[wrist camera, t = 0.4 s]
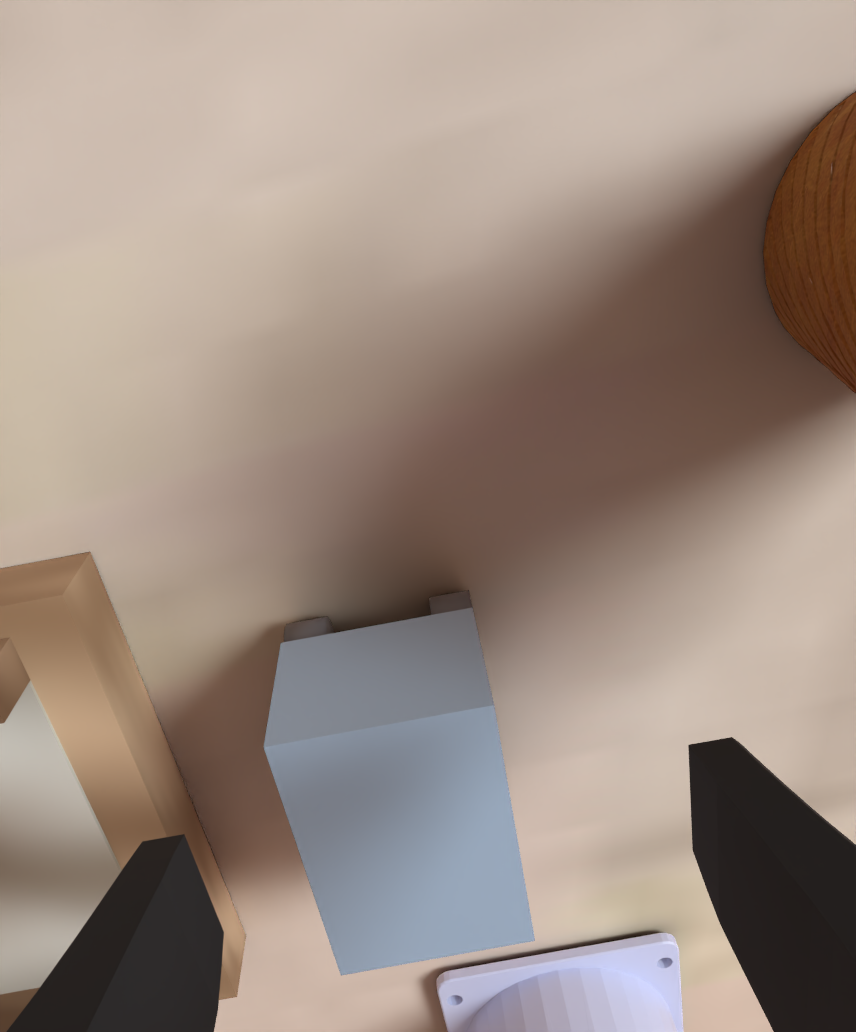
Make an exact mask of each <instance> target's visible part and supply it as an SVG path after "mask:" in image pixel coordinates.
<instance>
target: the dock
mask: <svg viewBox="0 0 856 1032" xmlns="http://www.w3.org/2000/svg"><path fill="white" fill-rule="evenodd" d="M182 834H185V837H186V839H187V842H188V844H189V847H190V849H191V852H192V854H193V857H194V859H195V862H196V864H197V867H198V869H199V872H200V874H201V876H202V879H203V881H204V884H205V886H206V889H207V891H208V894H209V896H210V899H211V901H212V904H213V906H214V909H215V911H216V914H217V916H218V918H219V921H220V923H221V926H222V928H223V931H224V940H223V954H222V968H221V980H220V991H219V1000H222V999H227V998H233V997H237V993H238V986H239V979H240V972H241V966H242V959H243V952H244V946H245V939H246V935H245V932H244V930H243V927H242V925H241V923H240V920H239V918H238V915H237V913H236V910H235V908H234V905H233V903H232V900H231V898H230V895H229V893H228V890H227V888H226V886H225V883H224V881H223V878H222V876H221V873H220V871H219V868H218V866H217V863H216V861H215V858H214V856H213V853H212V851H211V849H210V846H209V844H208V841H207V839H206V836H205V834H204V831H203V829H202V826H201V824H200V821H199V819H198V816H197V814H196V812H195V809H194V807H193V804H192V802H191V799H190V797H189V794H188V792H187V789H186V787H185V784H184V782H183V779H182V777H181V775H180V772H179V770H178V767H177V765H176V762H175V760H174V757H173V755H172V752H171V750H170V747H169V745H168V742H167V740H166V738H165V735H164V733H163V730H162V728H161V725H160V723H159V720H158V718H157V715H156V713H155V710H154V708H153V705H152V703H151V701H150V698H149V696H148V693H147V691H146V688H145V686H144V683H143V681H142V678H141V676H140V673H139V671H138V668H137V666H136V664H135V661H134V659H133V656H132V654H131V651H130V649H129V646H128V644H127V641H126V639H125V636H124V634H123V631H122V629H121V627H120V624H119V622H118V619H117V617H116V614H115V612H114V609H113V607H112V604H111V602H110V599H109V597H108V594H107V592H106V590H105V587H104V585H103V582H102V580H101V577H100V575H99V572H98V570H97V567H96V565H95V562H94V560H93V557H92V555H91V553H90V552H87V553H82V554H77V555H71V556H66V557H61V558H55V559H50V560H45V561H39V562H34V563H29V564H23V565H18V566H13V567H7V568H2V569H0V1032H6V1031H7V1030H8V1029H9V1027H10V1026H11V1025H12V1024H13V1022H14V1021H15V1020H16V1018H17V1017H18V1016H19V1014H20V1013H21V1012H22V1011H23V1009H24V1008H25V1007H26V1005H27V1004H28V1003H29V1001H30V1000H31V999H32V997H33V996H34V995H35V993H36V992H37V991H38V989H39V988H40V987H41V985H42V984H43V982H44V981H45V980H46V978H47V977H48V975H49V974H50V973H51V971H52V970H53V968H54V967H55V966H56V964H57V963H58V961H59V960H60V959H61V957H62V956H63V954H64V953H65V952H66V950H67V949H68V947H69V946H70V945H71V943H72V942H73V940H74V939H75V938H76V936H77V935H78V933H79V932H80V930H81V929H82V928H83V926H84V925H85V923H86V922H87V920H88V919H89V917H90V916H91V915H92V913H93V912H94V910H95V909H96V907H97V906H98V904H99V903H100V901H101V900H102V899H103V897H104V896H105V894H106V893H107V891H108V890H109V888H110V887H111V885H112V884H113V882H114V881H115V880H116V878H117V877H118V875H119V874H120V872H121V871H122V869H123V868H124V866H125V865H126V864H127V862H128V861H129V859H130V858H131V856H132V855H133V854H134V852H135V851H136V849H137V848H138V847H139V845H140V844H141V843H142V841H148V840H154V839H159V838H165V837H171V836H176V835H182Z"/></svg>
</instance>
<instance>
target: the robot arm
mask: <svg viewBox="0 0 856 1032" xmlns="http://www.w3.org/2000/svg"><path fill="white" fill-rule="evenodd" d="M689 767H690V792H691V818H692V843H693V852H694V855H695V858H696V860H697V863H698V866H699V869H700V871H701V874H702V877H703V880H704V882H705V885H706V888H707V891H708V893H709V896H710V898H711V901H712V904H713V906H714V909H715V912H716V914H717V917H718V919H719V922H720V924H721V926H722V928H723V930H724V932H725V934H726V937H727V939H728V941H729V943H730V945H731V947H732V949H733V951H734V953H735V955H736V957H737V959H738V961H739V963H740V965H741V967H742V969H743V971H744V973H745V975H746V977H747V979H748V981H749V983H750V985H751V987H752V989H753V991H754V993H755V995H756V997H757V999H758V1001H759V1003H760V1005H761V1007H762V1009H763V1011H764V1013H765V1015H766V1017H767V1019H768V1021H769V1023H770V1025H771V1027H772V1029H773V1031H774V1032H856V845H855V844H854V843H853V842H852V841H850V840H849V839H848V838H847V837H846V836H844V835H843V834H842V833H841V832H840V831H838V830H837V829H836V828H835V827H833V826H832V825H831V824H830V823H829V822H827V821H826V820H825V819H824V818H823V817H822V816H820V815H819V814H818V813H817V812H816V811H815V810H813V809H812V808H811V807H810V806H809V805H808V804H806V803H805V802H804V801H803V800H802V799H801V798H800V797H799V796H797V795H796V794H795V793H794V792H793V791H792V790H791V789H789V788H788V787H787V786H786V785H785V784H784V783H783V782H782V781H781V780H779V779H778V778H777V777H776V776H775V775H774V774H773V773H772V772H771V771H770V770H768V769H767V768H766V767H765V766H764V765H763V764H762V763H761V762H760V761H759V760H758V759H756V758H755V757H754V756H753V755H752V754H751V753H750V752H749V751H748V750H747V749H746V748H745V747H744V746H742V745H741V744H740V743H739V742H738V741H736V740H735V739H733V738H732V737H731V738H725V739H720V740H714V741H708V742H703V743H697V744H691V745H689ZM223 940H224V931H223V928H222V926H221V923H220V921H219V918H218V916H217V914H216V911H215V909H214V906H213V904H212V901H211V899H210V896H209V894H208V891H207V889H206V886H205V884H204V881H203V879H202V876H201V874H200V872H199V869H198V867H197V864H196V862H195V859H194V857H193V854H192V852H191V849H190V847H189V844H188V842H187V839H186V837H185V834H182V835H176V836H171V837H165V838H159V839H154V840H148V841H142V843H141V844H140V845H139V847H138V848H137V849H136V851H135V852H134V854H133V855H132V856H131V858H130V859H129V861H128V862H127V864H126V865H125V866H124V868H123V869H122V871H121V872H120V874H119V875H118V877H117V878H116V880H115V881H114V882H113V884H112V885H111V887H110V888H109V890H108V891H107V893H106V894H105V896H104V897H103V899H102V900H101V901H100V903H99V904H98V906H97V907H96V909H95V910H94V912H93V913H92V915H91V916H90V917H89V919H88V920H87V922H86V923H85V925H84V926H83V928H82V929H81V930H80V932H79V933H78V935H77V936H76V938H75V939H74V940H73V942H72V943H71V945H70V946H69V947H68V949H67V950H66V952H65V953H64V954H63V956H62V957H61V959H60V960H59V961H58V963H57V964H56V966H55V967H54V968H53V970H52V971H51V973H50V974H49V975H48V977H47V978H46V980H45V981H44V982H43V984H42V985H41V987H40V988H39V989H38V991H37V992H36V993H35V995H34V996H33V997H32V999H31V1000H30V1001H29V1003H28V1004H27V1005H26V1007H25V1008H24V1009H23V1011H22V1012H21V1013H20V1014H19V1016H18V1017H17V1018H16V1020H15V1021H14V1022H13V1024H12V1025H11V1026H10V1027H9V1029H8V1030H7V1031H6V1032H214V1027H215V1022H216V1016H217V1011H218V1002H219V991H220V980H221V968H222V954H223ZM436 984H437V993H438V997H439V1001H440V1005H441V1008H442V1012H443V1016H444V1020H445V1024H446V1027H447V1031H448V1032H683V1015H682V998H681V980H680V963H679V948H678V946H677V943H676V940H675V938H674V936H672V935H671V934H668V933H656V934H651V935H645V936H639V937H634V938H628V939H623V940H617V941H611V942H606V943H600V944H595V945H589V946H583V947H578V948H572V949H567V950H561V951H555V952H550V953H544V954H539V955H533V956H527V957H522V958H516V959H511V960H505V961H499V962H494V963H488V964H483V965H477V966H471V967H466V968H460V969H455V970H449V971H446V972H443V973H442V974H441V975H439V977H438V978H437V983H436Z"/></svg>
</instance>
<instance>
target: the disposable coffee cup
mask: <svg viewBox="0 0 856 1032" xmlns="http://www.w3.org/2000/svg"><path fill="white" fill-rule="evenodd" d="M763 255H764V266H765V276H766V286H767V289H768V292H769V295H770V298H771V301H772V304H773V307H774V310H775V312H776V314H777V316H778V318H779V320H780V321H781V323H782V325H783V327H784V328H785V329H786V330H787V331H788V332H789V333H790V335H791V336H792V337H793V338H794V339H795V340H796V341H797V342H798V344H799V345H801V346H802V347H803V348H805V349H806V350H807V351H808V352H810V353H811V354H812V355H813V356H814V357H815V358H816V359H817V360H819V361H820V362H821V363H822V364H823V365H825V366H826V367H827V368H828V369H829V370H830V371H831V372H832V373H833V374H834V375H835V376H836V377H837V378H838V379H840V380H841V381H842V382H843V383H845V384H846V385H847V386H848V387H849V388H850V389H851V390H852V391H853V392H855V393H856V92H855V93H853V94H852V95H851V96H849V97H848V98H847V99H845V100H844V101H843V102H841V103H840V104H839V105H837V106H836V107H835V108H834V109H833V110H832V111H831V112H830V113H829V114H828V115H827V116H826V117H825V118H824V119H823V120H822V121H821V122H820V123H819V124H818V125H817V126H816V127H815V128H814V129H813V130H812V131H811V133H810V134H809V135H808V137H807V138H806V140H805V141H804V143H803V144H802V145H801V147H800V148H799V150H798V151H797V153H796V154H795V155H794V157H793V158H792V160H791V161H790V163H789V165H788V167H787V170H786V172H785V174H784V176H783V178H782V180H781V182H780V184H779V186H778V188H777V190H776V193H775V196H774V199H773V203H772V206H771V209H770V213H769V216H768V219H767V224H766V232H765V241H764V249H763Z"/></svg>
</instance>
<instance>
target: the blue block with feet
mask: <svg viewBox="0 0 856 1032" xmlns="http://www.w3.org/2000/svg"><path fill="white" fill-rule="evenodd" d="M429 603H430V610H431V615H429V616H423V617H418V618H413V619H407V620H402V621H396V622H391V623H386V624H380V625H375V626H369V627H364V628H359V629H353V630H348V631H342V632H337V633H334V630H333V627H332V624H331V621H330V619H329V618H328V617H322V618H316V619H311V620H305V621H300V622H295V623H289V624H286V626H285V630H284V642H283V643H281V645H280V651H279V657H278V663H277V669H276V675H275V681H274V687H273V693H272V699H271V705H270V711H269V717H268V723H267V729H266V735H265V741H264V750H265V753H266V756H267V759H268V762H269V765H270V768H271V771H272V774H273V777H274V780H275V783H276V786H277V789H278V792H279V794H280V797H281V800H282V803H283V806H284V809H285V812H286V815H287V818H288V821H289V824H290V827H291V830H292V833H293V836H294V839H295V842H296V844H297V847H298V850H299V853H300V856H301V859H302V862H303V865H304V868H305V871H306V874H307V877H308V880H309V883H310V886H311V889H312V892H313V895H314V897H315V900H316V903H317V906H318V909H319V912H320V915H321V918H322V921H323V924H324V927H325V930H326V933H327V936H328V939H329V942H330V945H331V948H332V950H333V953H334V956H335V959H336V962H337V965H338V968H339V971H340V974H341V975H346V974H352V973H357V972H363V971H369V970H374V969H380V968H385V967H391V966H397V965H402V964H408V963H413V962H419V961H424V960H430V959H436V958H441V957H447V956H452V955H458V954H464V953H469V952H475V951H480V950H486V949H492V948H497V947H503V946H508V945H514V944H519V943H525V942H531V941H535V938H534V932H533V927H532V921H531V915H530V909H529V903H528V898H527V892H526V886H525V880H524V875H523V869H522V863H521V857H520V852H519V846H518V840H517V834H516V829H515V823H514V817H513V811H512V805H511V800H510V794H509V788H508V782H507V777H506V771H505V765H504V759H503V754H502V748H501V742H500V736H499V731H498V725H497V719H496V713H495V707H494V702H493V698H492V693H491V689H490V684H489V680H488V675H487V671H486V666H485V662H484V657H483V652H482V648H481V643H480V639H479V634H478V630H477V625H476V621H475V616H474V611H473V607H472V603H471V599H470V594H469V590H467V591H462V592H457V593H451V594H446V595H440V596H435V597H430V598H429Z"/></svg>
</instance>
